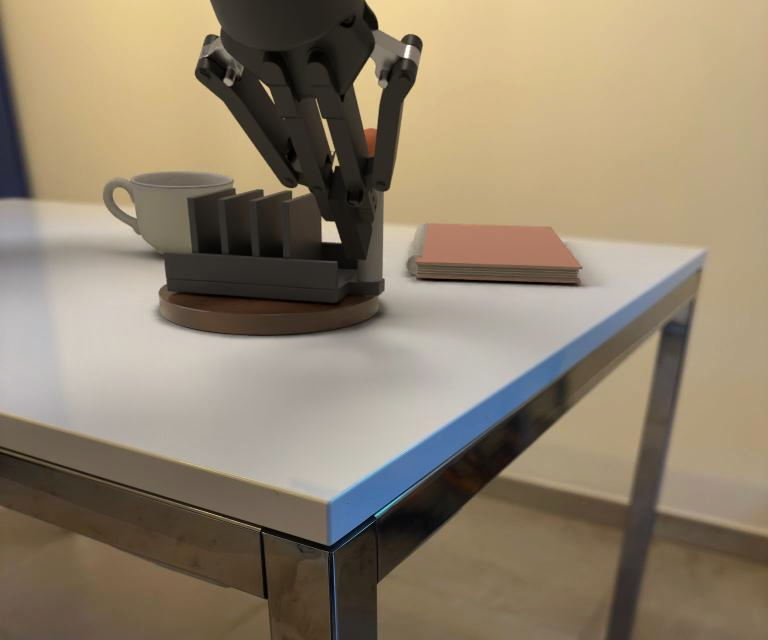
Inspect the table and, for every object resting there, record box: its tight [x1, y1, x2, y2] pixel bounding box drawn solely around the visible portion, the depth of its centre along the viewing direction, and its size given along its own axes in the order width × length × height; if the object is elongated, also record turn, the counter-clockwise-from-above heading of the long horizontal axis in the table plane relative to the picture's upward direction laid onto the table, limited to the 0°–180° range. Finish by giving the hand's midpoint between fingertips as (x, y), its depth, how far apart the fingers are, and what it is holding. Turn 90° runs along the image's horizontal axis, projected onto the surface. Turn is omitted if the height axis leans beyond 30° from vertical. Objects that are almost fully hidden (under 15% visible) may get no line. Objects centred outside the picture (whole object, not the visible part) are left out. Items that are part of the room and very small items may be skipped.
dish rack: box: [162, 127, 386, 303], centre depth 61 cm, size 17×9×12 cm, turn 77°
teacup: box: [102, 170, 235, 255], centre depth 85 cm, size 14×11×8 cm
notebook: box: [405, 222, 583, 284], centre depth 87 cm, size 27×17×2 cm, turn 175°
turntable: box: [158, 283, 380, 336], centre depth 65 cm, size 18×18×2 cm
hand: (359, 243), depth 58 cm, fingers closed
